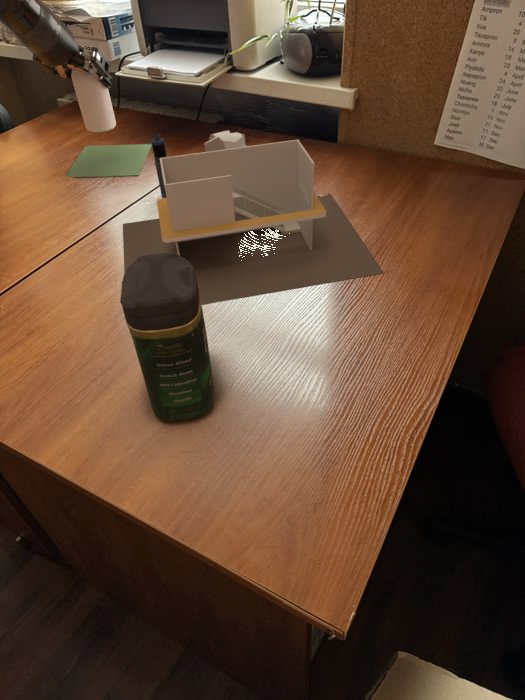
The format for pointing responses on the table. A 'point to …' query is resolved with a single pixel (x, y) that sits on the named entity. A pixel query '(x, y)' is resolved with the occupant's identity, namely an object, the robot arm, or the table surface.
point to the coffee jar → (169, 335)
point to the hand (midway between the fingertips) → (94, 83)
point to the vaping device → (159, 153)
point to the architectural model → (250, 223)
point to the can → (93, 102)
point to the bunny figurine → (225, 141)
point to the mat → (110, 161)
